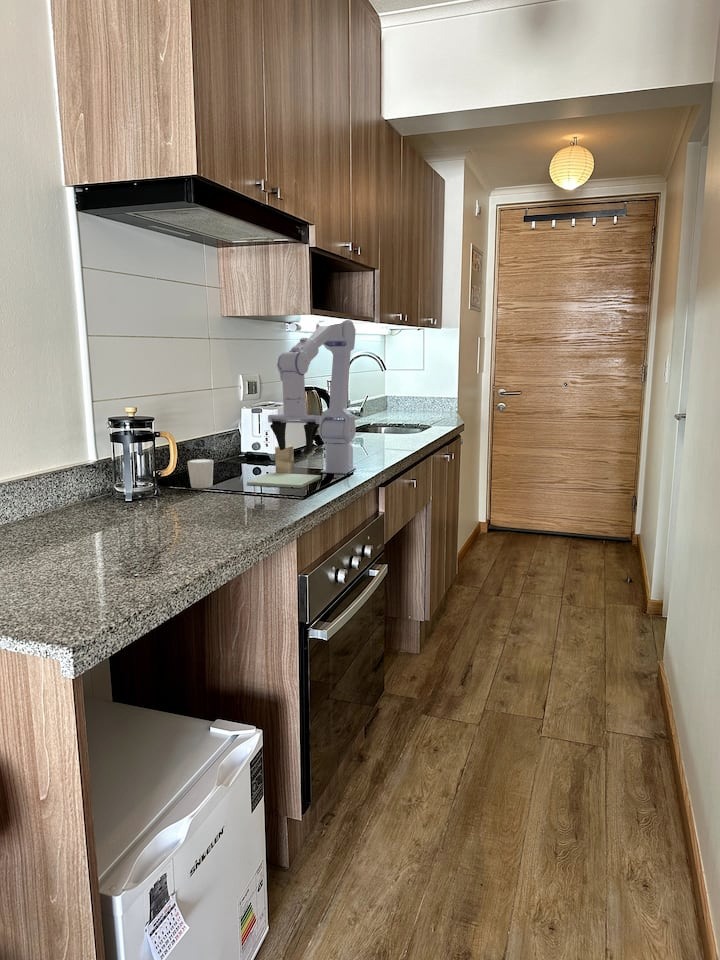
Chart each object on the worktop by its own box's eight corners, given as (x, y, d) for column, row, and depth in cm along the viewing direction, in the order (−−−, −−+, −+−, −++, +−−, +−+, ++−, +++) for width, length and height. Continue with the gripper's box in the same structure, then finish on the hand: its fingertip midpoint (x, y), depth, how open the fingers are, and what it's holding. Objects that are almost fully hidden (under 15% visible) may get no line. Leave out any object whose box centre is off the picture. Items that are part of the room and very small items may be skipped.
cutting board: (269, 475, 196) (269, 472, 196) (320, 478, 191) (320, 475, 191) (247, 484, 183) (246, 481, 183) (301, 488, 178) (301, 485, 178)
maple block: (281, 471, 201) (280, 445, 200) (294, 472, 200) (293, 445, 199) (276, 474, 198) (275, 447, 196) (288, 475, 196) (287, 447, 195)
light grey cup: (184, 488, 179) (182, 462, 178) (196, 483, 186) (194, 458, 185) (207, 489, 178) (206, 463, 176) (219, 484, 184) (217, 458, 183)
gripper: (262, 399, 174) (264, 451, 177) (314, 400, 170) (315, 453, 172) (273, 397, 181) (275, 447, 183) (324, 398, 176) (325, 449, 179)
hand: (295, 450), depth 178 cm, fingers open, 7 cm apart
